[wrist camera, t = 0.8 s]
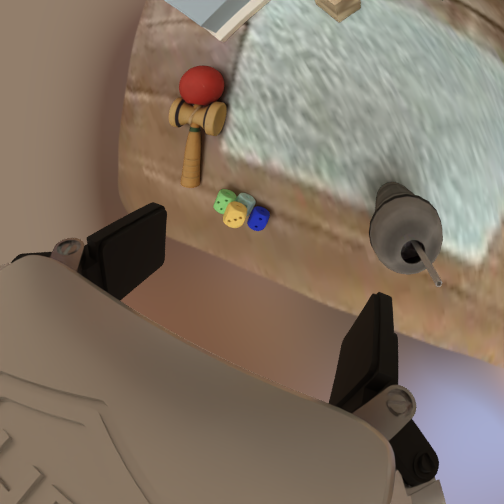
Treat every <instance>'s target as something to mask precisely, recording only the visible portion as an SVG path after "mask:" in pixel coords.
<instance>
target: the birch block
mask: <svg viewBox="0 0 504 504" xmlns="http://www.w3.org/2000/svg"><path fill="white" fill-rule="evenodd" d="M315 2H316V4H317V5H318V6H319V7H320V8H322V9H323V10H324V11H325V12H327V13H328V14H329V15H330V16H332V17H333V18H334V19H335V20H336V21H338V22H339V23H340V22H341V21H342V20H344V19H345V18H347V17H348V16H350V15H351V14H353V13H354V12H356V11H357V10H359V9H360V8H361V2H360V0H315Z"/></svg>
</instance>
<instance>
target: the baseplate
mask: <svg viewBox="0 0 504 504" xmlns="http://www.w3.org/2000/svg"><path fill="white" fill-rule="evenodd" d="M164 1H166V2H167V3H169V4H170V5H172V6H173V7H175V8H176V9H178V10H179V11H180V12H182V13H183V14H185V15H186V16H188V17H189V18H190V19H192V20H193V21H194V22H196V23H197V24H198V25H200V26H201V27H203V28H205V29H206V30H207V31H208V32H210V33H211V34H212V35H214V36H215V37H216V38H217V39H218V40H220V41H222V42H225V41H226V40H227V39H228V38H229V37H230V36H231V35H232V34H233V33H234V32H235V31H237V30H238V29H239V28H240V27H241V26H242V25H243V24H244V23H245V22H246V21H247V20H248V19H249V18H251V17H252V16H253V15H254V14H255V13H256V12H257V11H259V10H260V9H261V8H262V7H263V6H264V5H266V4H267V3H268V2H269V1H271V0H164Z"/></svg>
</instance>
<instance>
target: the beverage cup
mask: <svg viewBox="0 0 504 504" xmlns="http://www.w3.org/2000/svg"><path fill="white" fill-rule="evenodd" d="M369 237H370V243H371V246H372V247H373V249H374V251H375V253H376V255H377V257H378V258H379V260H380V261H381V262H382V263H383V264H384V265H385V266H386V267H387V268H389V269H390V270H393V271H395V272H397V273H401V274H415V273H419V272H421V271H423V270H425V269H427V270H428V272H429V274H430V276H431V277H432V279H433V281H434V283H435V285H436V286H437V287H440V286H441V285H442V281H441V279H440V277H439V276H438V274H437V272H436V270H435V269H434V267H433V265H432V263H433V262H434V261H435V259H436V258H437V256H438V254H439V253H440V249H441V245H442V241H443V235H442V225H441V220H440V218H439V215H438V213H437V210H436V209H435V208H434V207H433V206H432V205H431V204H430V202H429V201H427V200H425V199H423V198H422V197H420V196H417V195H414V194H413V193H412V192H411V191H410V190H408V189H407V188H406V187H405V186H403V185H401V184H399V183H396V182H389V183H386V184H384V185H383V186H382V187H381V188H380V189H379V191H378V193H377V197H376V206H375V213H374V215H373V217H372V219H371V221H370V228H369Z"/></svg>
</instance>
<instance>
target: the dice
mask: <svg viewBox="0 0 504 504" xmlns="http://www.w3.org/2000/svg"><path fill="white" fill-rule="evenodd" d="M255 203H256V202H255V199H254V198H253V197H252V196H251V195H249V194H246V193H240V194H239V195H238V197H237V198H236V195H235V193H233V192H232V191H230V190H227V189H222V190H220V191H219V193H218V195H217V198H216V200H215V203H214V206H213V207H214V209H215V210H216V211H217V212H219V213H221V214H224V216H223V221H224V223H225V224H226V225H227V226H229V227H232V228H238V227H240V226H242V225H243V223H244V221H245V219H246V217H247V216H248V215H249V214H250V213H251V214H250V216H249V219H248V222H247V224H248V226H249V227H250V228H251V229H253V230H255V231H261V230H263V229H264V228H265V226H266V224H267V222H268V220H269V216H270V213H269V211H268V210H267V209H265V208H263V207H260V206H257V207H254V205H255ZM253 207H254V208H253ZM252 209H253V210H252ZM251 211H252V212H251Z"/></svg>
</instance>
